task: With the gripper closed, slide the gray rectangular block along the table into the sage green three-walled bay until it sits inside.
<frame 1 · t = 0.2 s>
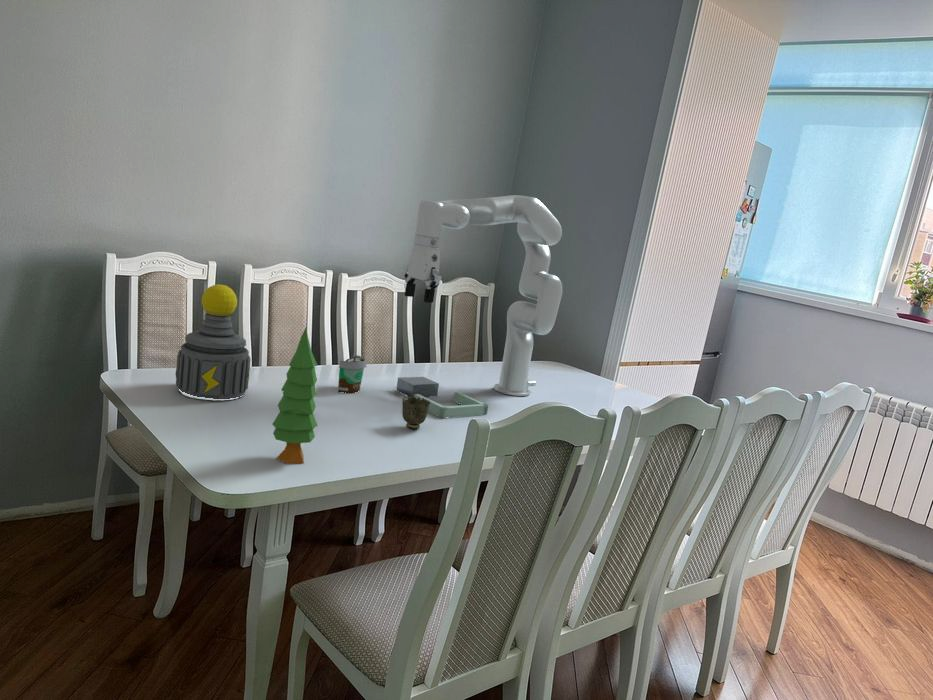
hand: (418, 299, 222), 31 cm above the table, tool pointing down, fingers open, 9 cm apart
bay: (449, 409, 222), on the table
decorative tree: (290, 459, 162), on the table
decorative lamp: (211, 393, 202), on the table
gray rectangular block: (416, 394, 234), on the table
cup: (412, 429, 197), on the table
food container: (352, 391, 226), on the table
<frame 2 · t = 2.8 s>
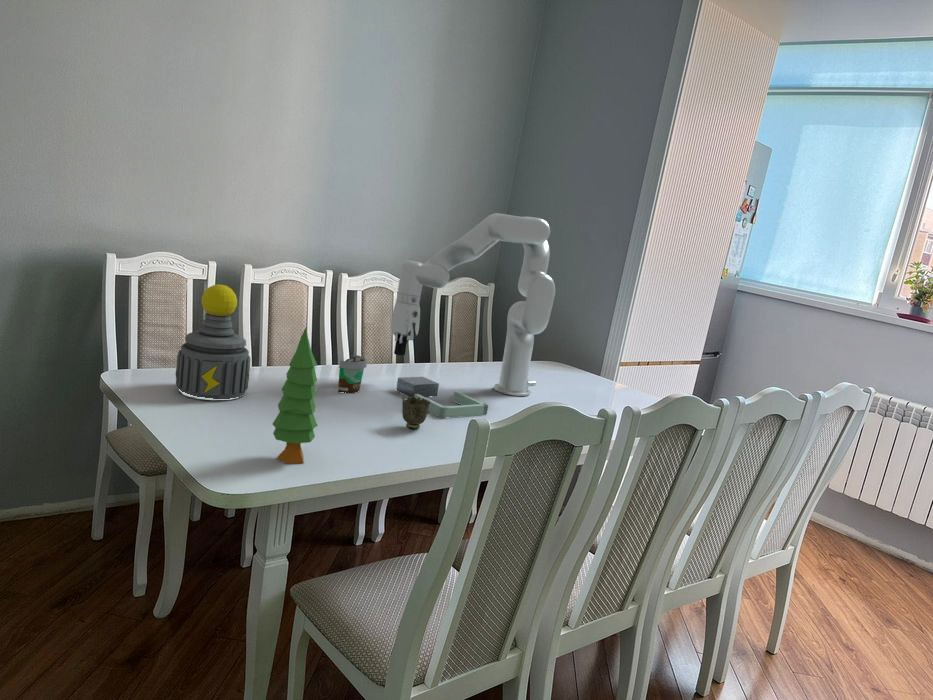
hand: (399, 354, 240), 10 cm above the table, tool pointing down, fingers closed
nothing on the table moved.
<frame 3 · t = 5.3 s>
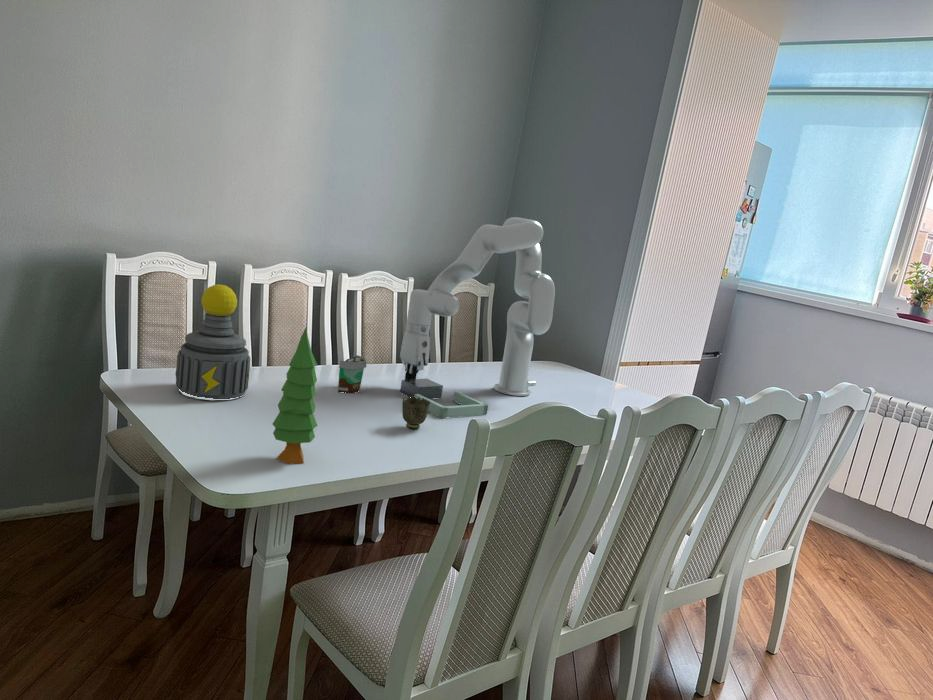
hand: (409, 384, 237), 2 cm above the table, tool pointing down, fingers closed
gray rectangular block: (420, 396, 233), on the table
everything else where it was.
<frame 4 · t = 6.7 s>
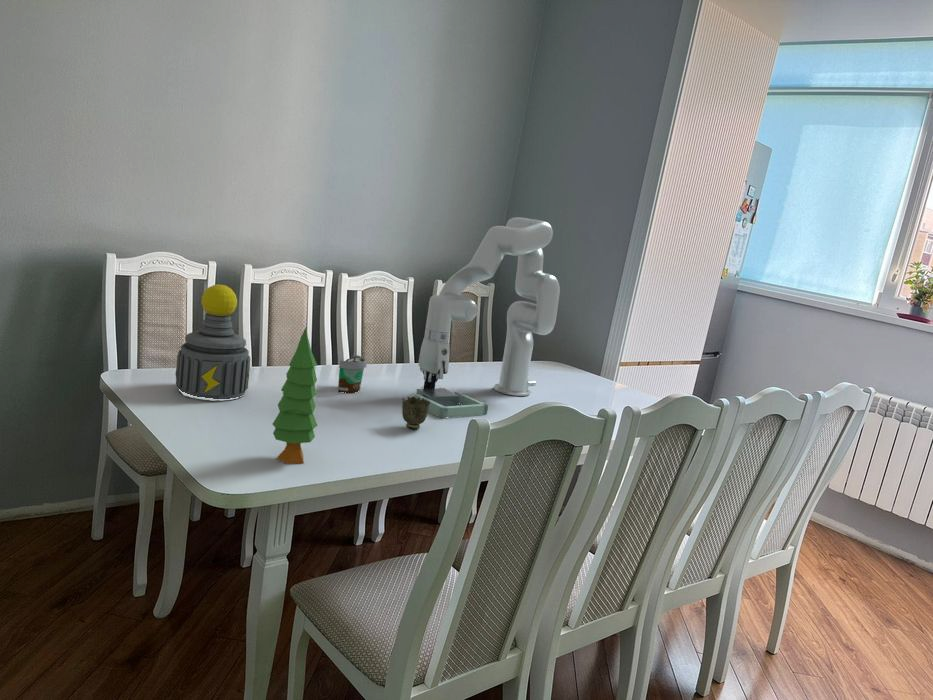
hand: (428, 393, 229), 2 cm above the table, tool pointing down, fingers closed
gray rectangular block: (435, 406, 224), on the table, touching gripper
everything else where it was.
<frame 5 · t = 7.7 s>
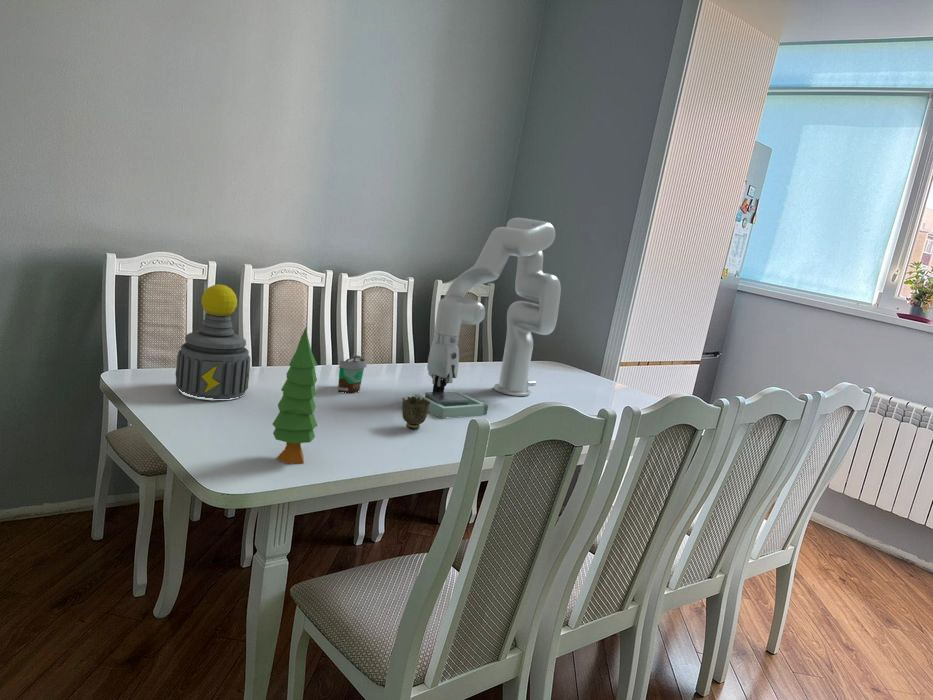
hand: (437, 397, 226), 2 cm above the table, tool pointing down, fingers closed
gray rectangular block: (444, 410, 221), on the table
everything else where it was.
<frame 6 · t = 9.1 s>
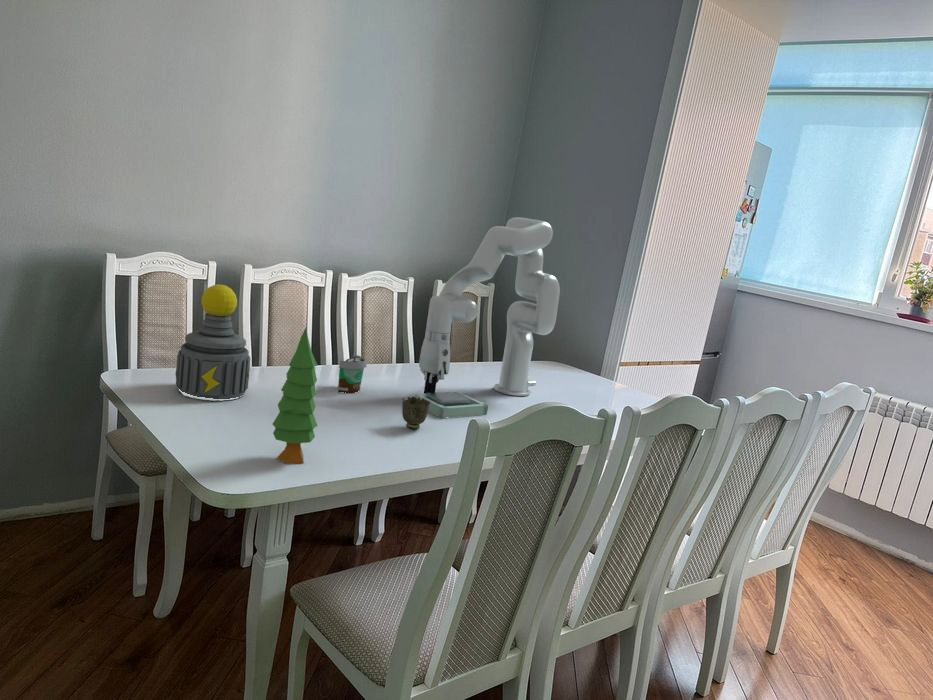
hand: (429, 393, 229), 2 cm above the table, tool pointing down, fingers closed
nothing on the table moved.
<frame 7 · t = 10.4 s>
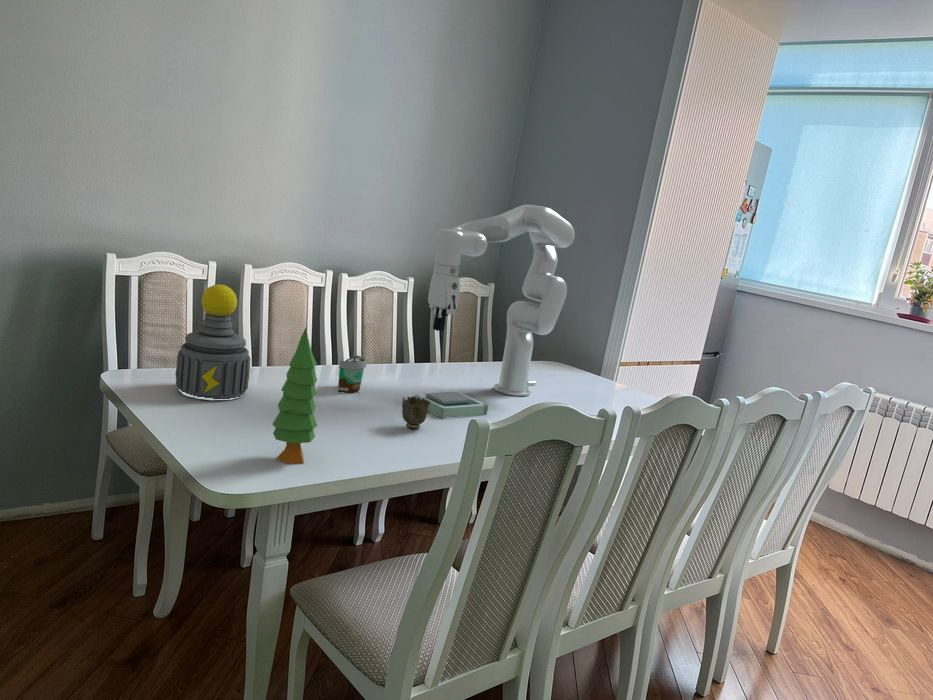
hand: (438, 329, 226), 22 cm above the table, tool pointing down, fingers closed
nothing on the table moved.
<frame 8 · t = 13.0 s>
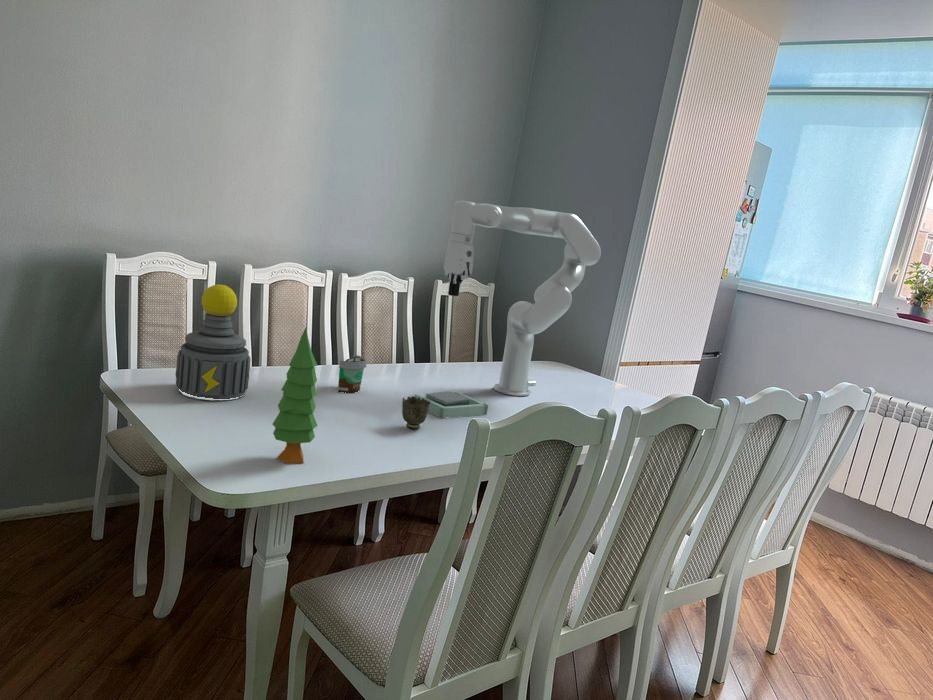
hand: (453, 295, 242), 31 cm above the table, tool pointing down, fingers closed
nothing on the table moved.
at the end: gray rectangular block 1.8 cm off-centre on the bay, point 0.0 cm above the bay's base; gray rectangular block moved 17.4 cm from its start; gray rectangular block tilted 0° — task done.
